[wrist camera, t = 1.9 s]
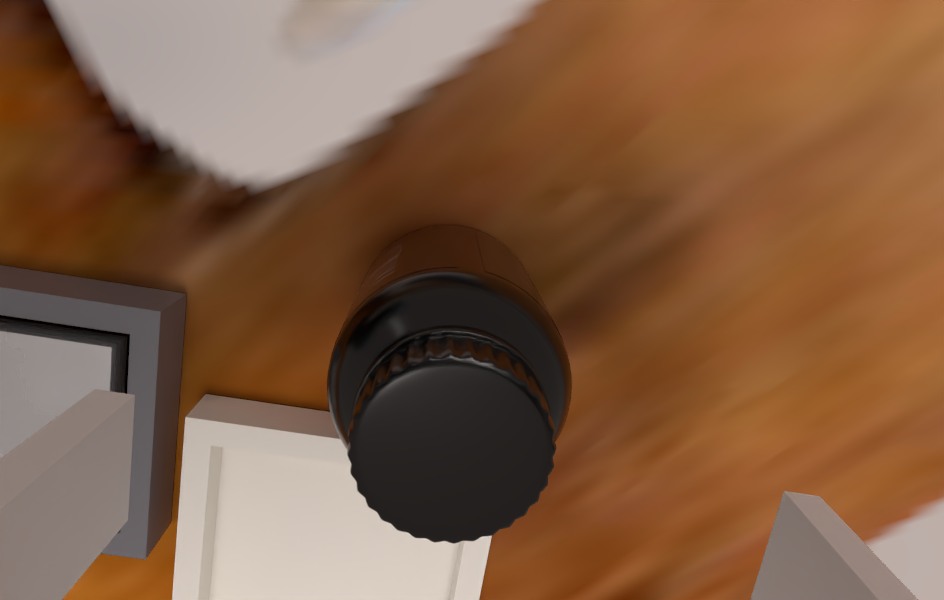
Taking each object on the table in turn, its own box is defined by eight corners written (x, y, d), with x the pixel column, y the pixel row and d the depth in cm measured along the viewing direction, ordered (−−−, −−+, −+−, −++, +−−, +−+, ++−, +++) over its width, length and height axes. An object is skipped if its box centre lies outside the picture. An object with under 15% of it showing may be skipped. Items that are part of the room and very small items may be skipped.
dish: (185, 645, 31) (166, 684, 29) (205, 393, 28) (185, 417, 26) (455, 677, 32) (455, 718, 30) (502, 437, 29) (506, 462, 27)
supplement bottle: (399, 414, 28) (363, 621, 17) (332, 258, 27) (240, 370, 15) (560, 357, 28) (636, 529, 16) (503, 195, 26) (542, 260, 15)
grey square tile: (-82, 491, 27) (-106, 508, 25) (-88, 304, 25) (-115, 314, 24) (118, 517, 27) (103, 535, 26) (127, 336, 25) (111, 347, 24)
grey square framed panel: (-78, 496, 29) (-144, 543, 26) (-85, 251, 26) (-159, 271, 23) (170, 528, 30) (136, 579, 26) (186, 293, 27) (151, 318, 24)
